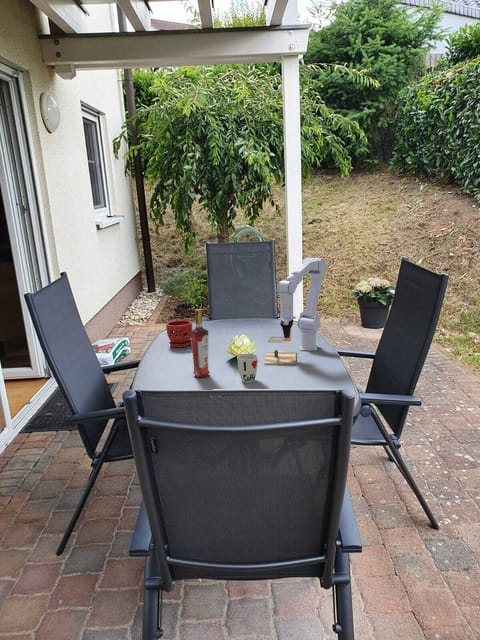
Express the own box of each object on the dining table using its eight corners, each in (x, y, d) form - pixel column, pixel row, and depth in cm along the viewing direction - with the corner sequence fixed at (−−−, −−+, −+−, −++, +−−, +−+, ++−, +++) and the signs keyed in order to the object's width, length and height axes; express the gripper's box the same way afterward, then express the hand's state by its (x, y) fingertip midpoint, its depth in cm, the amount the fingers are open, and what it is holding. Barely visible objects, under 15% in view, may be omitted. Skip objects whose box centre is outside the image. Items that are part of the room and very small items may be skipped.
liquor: (201, 371, 203) (198, 307, 197) (214, 374, 198) (211, 309, 192) (189, 376, 197) (185, 310, 191) (201, 379, 193) (198, 312, 186)
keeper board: (266, 352, 227) (266, 344, 226) (296, 352, 225) (296, 344, 224) (263, 364, 209) (263, 356, 208) (295, 364, 208) (295, 356, 207)
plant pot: (195, 341, 249) (194, 319, 247) (190, 348, 237) (188, 325, 234) (170, 341, 251) (169, 319, 248) (164, 348, 238) (163, 325, 235)
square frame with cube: (291, 338, 218) (291, 327, 217) (290, 342, 211) (290, 331, 210) (269, 338, 220) (269, 327, 218) (268, 342, 213) (267, 331, 212)
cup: (241, 385, 186) (240, 360, 184) (235, 378, 193) (235, 354, 191) (260, 382, 188) (260, 358, 186) (254, 376, 195) (254, 352, 193)
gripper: (295, 310, 204) (295, 341, 207) (296, 304, 218) (296, 332, 221) (278, 310, 205) (279, 341, 208) (281, 304, 219) (281, 332, 222)
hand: (287, 336), depth 215 cm, fingers closed on square frame with cube, 3 cm apart
